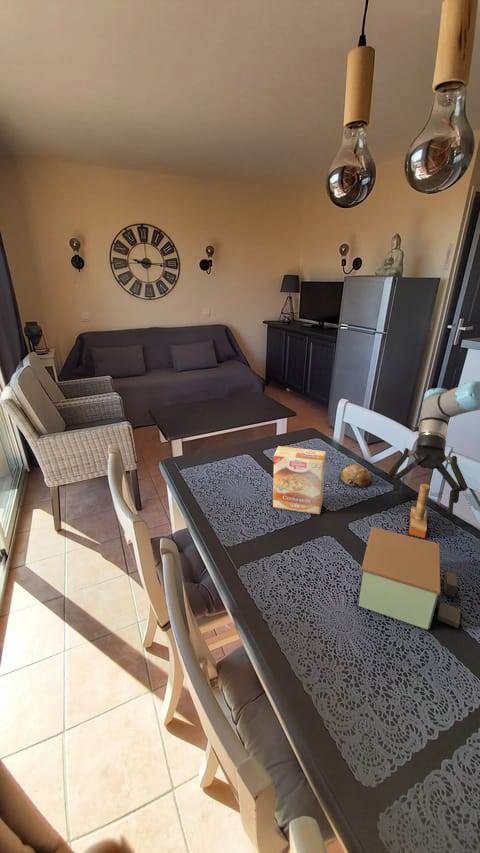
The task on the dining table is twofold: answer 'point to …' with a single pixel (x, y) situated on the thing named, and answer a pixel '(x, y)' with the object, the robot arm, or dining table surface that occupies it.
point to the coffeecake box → (298, 479)
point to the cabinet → (401, 577)
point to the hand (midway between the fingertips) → (422, 507)
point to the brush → (419, 513)
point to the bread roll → (356, 475)
